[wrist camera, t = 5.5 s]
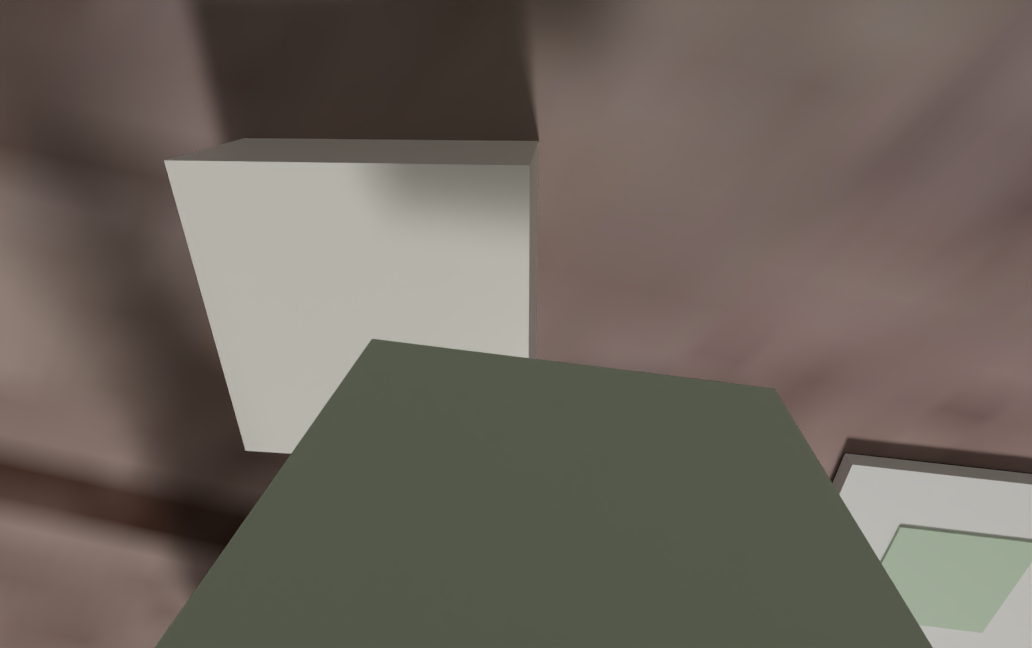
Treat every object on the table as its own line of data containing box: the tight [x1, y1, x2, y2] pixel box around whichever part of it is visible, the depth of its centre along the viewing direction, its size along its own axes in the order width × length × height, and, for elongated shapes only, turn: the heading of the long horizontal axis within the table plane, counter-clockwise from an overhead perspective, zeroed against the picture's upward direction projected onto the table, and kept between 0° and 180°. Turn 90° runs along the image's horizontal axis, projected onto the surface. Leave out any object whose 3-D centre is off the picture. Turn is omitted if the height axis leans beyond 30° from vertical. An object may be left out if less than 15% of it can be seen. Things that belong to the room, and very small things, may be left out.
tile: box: [833, 453, 1032, 648], centre depth 22 cm, size 10×10×1 cm
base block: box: [164, 138, 539, 454], centre depth 17 cm, size 9×9×4 cm
